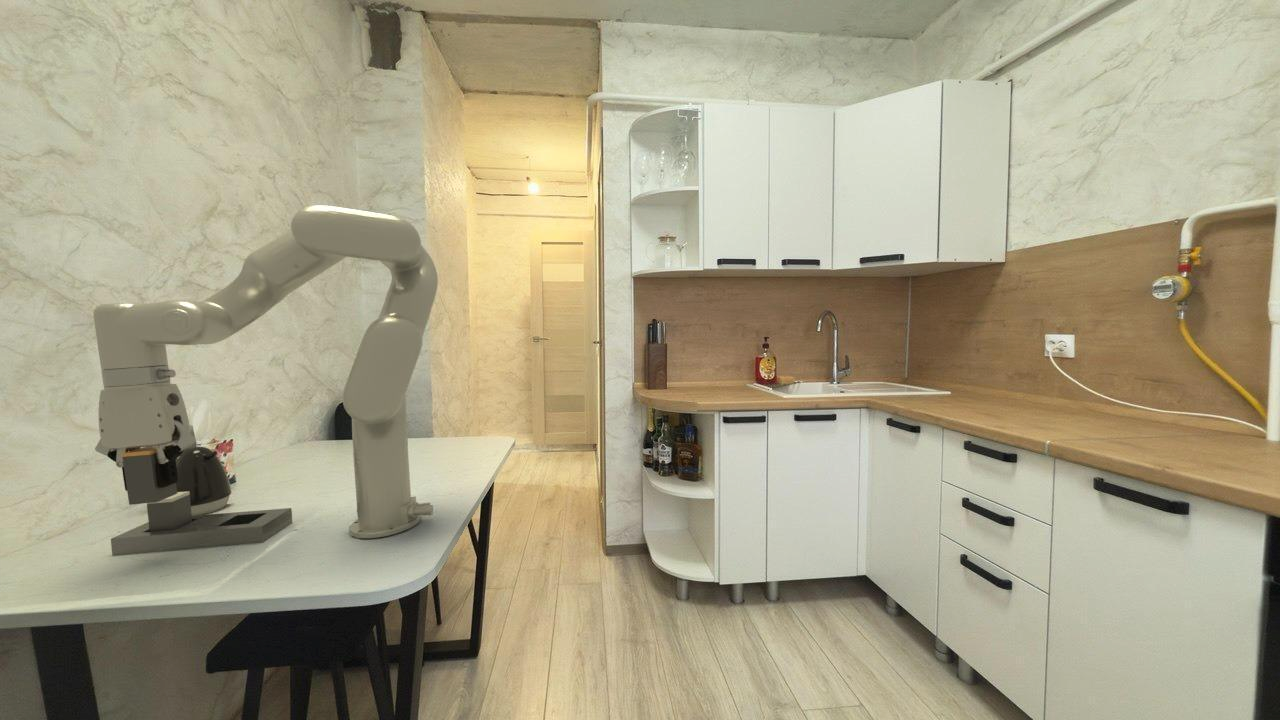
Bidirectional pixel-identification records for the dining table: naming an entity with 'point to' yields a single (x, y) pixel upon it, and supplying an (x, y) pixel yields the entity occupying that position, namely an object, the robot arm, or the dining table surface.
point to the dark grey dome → (203, 480)
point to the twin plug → (170, 512)
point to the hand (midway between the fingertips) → (152, 485)
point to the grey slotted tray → (205, 532)
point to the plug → (144, 477)
